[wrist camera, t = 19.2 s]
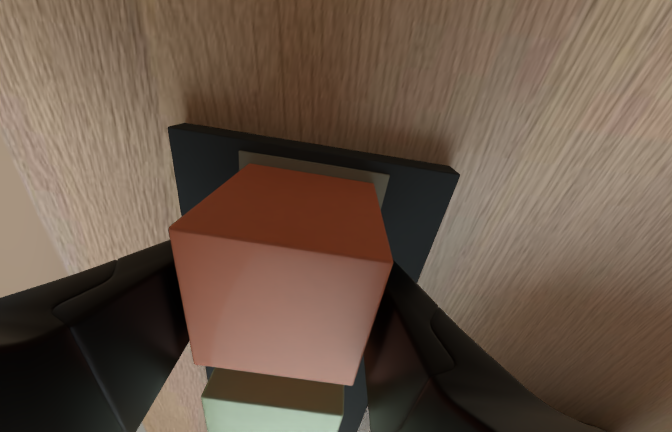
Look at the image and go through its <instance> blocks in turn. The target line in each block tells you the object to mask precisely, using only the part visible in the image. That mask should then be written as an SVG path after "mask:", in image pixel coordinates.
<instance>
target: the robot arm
mask: <svg viewBox="0 0 672 432" xmlns="http://www.w3.org/2000/svg"><path fill="white" fill-rule="evenodd" d="M188 342H189V335H188V330H187V325H186V319H185V314H184V309H183V304H182V298H181V293H180V288H179V283H178V278H177V272H176V267H175V262H174V257H173V252H172V246H171V241H170V240H168V241H165V242H163V243H160V244H157V245H154V246H152V247H149V248H146V249H144V250H141V251H138V252H135V253H133V254H130V255H127V256H124V257H122V258H119V259H118V261H117V260H113V261H111V262H108V263H105V264H102V265H100V266H97V267H94V268H91V269H88V270H85V271H83V272H80V273H77V274H74V275H71V276H68V277H65V278H62V279H59V280H56V281H53V282H49V283H47V284H43V285H40V286H37V287H34V288H30V289H27V290H25V291H21V292H18V293H15V294H11V295H8V296H5V297H2V298H0V432H136V431H137V429H138V427H139V426H140V424H141V422H142V421H143V419H144V417H145V415H146V414H147V412H148V410H149V409H150V407H151V405H152V404H153V402H154V400H155V398H156V397H157V395H158V393H159V392H160V390H161V388H162V386H163V385H164V383H165V381H166V380H167V378H168V376H169V375H170V373H171V371H172V369H173V368H174V366H175V364H176V363H177V361H178V359H179V358H180V356H181V354H182V352H183V351H184V349H185V347H186V346H187V344H188ZM363 356H364V367H365V377H366V388H367V399H368V409H369V420H370V430H371V432H604V431H601V430H599V429H596V428H594V427H591V426H589V425H587V424H584V423H582V422H579V421H577V420H575V419H572V418H570V417H568V416H566V415H564V414H562V413H560V412H558V411H557V410H555V409H553V408H552V407H550V406H549V405H547V404H545V403H544V402H543V401H541V400H540V399H539V398H537V397H536V396H535V395H534V394H532V393H531V392H530V391H529V390H528V389H526V388H525V387H524V386H523V385H522V384H521V383H520V382H519V381H517V380H516V379H515V378H514V377H513V376H512V375H511V374H510V373H509V372H507V371H506V370H505V369H504V368H503V367H502V366H501V365H500V364H499V363H497V362H496V361H495V360H494V359H493V358H492V357H491V356H490V355H489V354H487V353H486V352H485V351H484V350H483V349H482V348H481V347H480V346H479V345H477V344H476V343H475V342H474V341H473V340H472V339H471V338H470V337H469V336H468V335H467V334H466V333H465V332H463V331H462V330H461V329H460V328H459V327H458V326H457V325H456V324H455V323H454V322H453V321H452V320H451V319H450V318H449V317H448V316H447V315H446V313H445V312H444V311H443V310H442V309H441V308H439V307H438V305H437V304H436V303H435V302H434V301H433V300H432V299H431V298H430V297H429V296H428V295H427V294H426V293H425V292H424V291H423V290H422V289H421V288H420V287H419V285H418V284H417V283H416V282H415V281H414V280H413V279H412V278H411V277H410V276H409V275H408V274H407V273H406V272H405V271H404V270H403V269H402V268H401V267H400V266H399V265H398V264H397V263H396V262H395V260H394V259H393V265H392V269H391V272H390V275H389V278H388V281H387V284H386V287H385V290H384V293H383V296H382V299H381V302H380V305H379V308H378V311H377V314H376V317H375V320H374V323H373V326H372V329H371V332H370V335H369V338H368V341H367V344H366V347H365V350H364V353H363Z"/></svg>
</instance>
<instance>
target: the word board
mask: <svg viewBox="0 0 672 432" xmlns="http://www.w3.org/2000/svg"><path fill="white" fill-rule="evenodd" d="M168 133H169V140H170V146H171V152H172V159H173V165H174V171H175V177H176V184H177V190H178V196H179V203H180V209H181V215H182V216H183V215H185V214H186V213H187V212H188V211H190V210H191V209H192V208H194V207H195V206H196V205H197V204H199V203H200V202H201V201H202V200H204V199H205V198H206V197H207V196H209V195H210V194H211V193H212V192H214V191H215V190H216V189H217V188H219V187H220V186H221V185H223V184H224V183H225V182H226V181H228V180H229V179H230V178H231V177H233V176H234V175H235V174H236V173H238V172H239V171H240V170H241V169H243V168H244V167H245V166H246V165H248V164H257V165H263V166H269V167H275V168H281V169H287V170H294V171H300V172H306V173H312V174H318V175H325V176H331V177H337V178H343V179H349V180H355V181H362V182H368V183H373V184H374V186H375V190H376V194H377V198H378V202H379V206H380V210H381V214H382V218H383V222H384V226H385V230H386V234H387V238H388V242H389V246H390V250H391V254H392V258H393V259H394V260H395V262H396V263H397V264H398V265H399V266H400V267H401V268H402V269H403V270H404V271H405V272H406V273H407V274H408V275H409V276H410V277H411V278H412V279H413V280H414V281H415V282H416V283H417V281H418V279H419V276H420V274H421V271H422V269H423V266H424V264H425V261H426V259H427V256H428V254H429V252H430V249H431V247H432V244H433V242H434V239H435V237H436V234H437V232H438V229H439V227H440V224H441V222H442V219H443V217H444V214H445V212H446V209H447V207H448V204H449V202H450V199H451V197H452V194H453V192H454V189H455V187H456V184H457V182H458V180H459V177H460V174H459V173H458V172H456V171H455V170H454V169H453V168H451V167H450V166H445V165H439V164H433V163H427V162H421V161H414V160H408V159H402V158H396V157H390V156H384V155H378V154H372V153H366V152H359V151H353V150H347V149H341V148H335V147H329V146H323V145H317V144H311V143H305V142H298V141H292V140H286V139H280V138H274V137H268V136H262V135H256V134H250V133H243V132H237V131H231V130H225V129H219V128H213V127H207V126H201V125H195V124H188V123H182V124H178V125H174V126H170V127H168ZM214 368H215V367H210V366H206V372H207V379H208V380H209V378H210V376H211V374H212V372H213V370H214ZM367 406H368V399H367V388H366V377H365V367H364V356H362V360H361V363H360V366H359V369H358V372H357V375H356V378H355V381H354V384H353V385H352V386H349V385H344V415H343V418H342V421H341V424H340V427H339V430H338V432H357V430H358V428H359V425H360V423H361V420H362V418H363V415H364V413H365V410H366V408H367Z"/></svg>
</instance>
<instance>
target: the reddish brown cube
mask: <svg viewBox="0 0 672 432" xmlns="http://www.w3.org/2000/svg"><path fill="white" fill-rule="evenodd" d="M168 231H169V236H170V241H171V246H172V252H173V257H174V262H175V267H176V272H177V278H178V283H179V288H180V293H181V298H182V304H183V309H184V314H185V319H186V325H187V330H188V335H189V340H190V345H191V351H192V356H193V361H194V364H196V365H202V366H210V367H217V368H224V369H232V370H239V371H246V372H254V373H261V374H268V375H276V376H283V377H290V378H298V379H305V380H312V381H320V382H327V383H334V384H342V385H349V386H352V385H353V384H354V381H355V378H356V375H357V372H358V369H359V366H360V363H361V360H362V356H363V353H364V350H365V347H366V344H367V341H368V338H369V335H370V332H371V329H372V326H373V323H374V320H375V317H376V314H377V311H378V308H379V305H380V302H381V299H382V296H383V293H384V290H385V287H386V284H387V281H388V278H389V275H390V272H391V269H392V265H393V258H392V254H391V250H390V246H389V242H388V238H387V234H386V230H385V226H384V222H383V218H382V214H381V210H380V206H379V202H378V198H377V194H376V190H375V186H374V184H373V183H368V182H362V181H355V180H349V179H343V178H337V177H331V176H325V175H318V174H312V173H306V172H300V171H294V170H287V169H281V168H275V167H269V166H263V165H257V164H248V165H246V166H245V167H244V168H243V169H241V170H240V171H239V172H238V173H236V174H235V175H234V176H233V177H231V178H230V179H229V180H228V181H226V182H225V183H224V184H223V185H221V186H220V187H219V188H217V189H216V190H215V191H214V192H212V193H211V194H210V195H209V196H207V197H206V198H205V199H204V200H202V201H201V202H200V203H199V204H197V205H196V206H195V207H194V208H192V209H191V210H190V211H188V212H187V213H186V214H185V215H183V216H182V217H181V218H180V219H178V220H177V221H176V222H175V223H173V224H172V225H171V226H170V227H169V230H168Z"/></svg>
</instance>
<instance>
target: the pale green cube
mask: <svg viewBox="0 0 672 432" xmlns="http://www.w3.org/2000/svg"><path fill="white" fill-rule="evenodd" d="M201 399H202V404H203V410H204V415H205V420H206V425H207V430H208V432H338V430H339V427H340V424H341V421H342V418H343V415H344V385H342V384H334V383H327V382H320V381H312V380H305V379H298V378H290V377H283V376H276V375H268V374H261V373H254V372H246V371H239V370H232V369H224V368H217V367H215V368H214V370H213V372H212V374H211V376H210V378H209V380H208V382H207V385H206V387H205V389H204V391H203V393H202V395H201Z"/></svg>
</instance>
